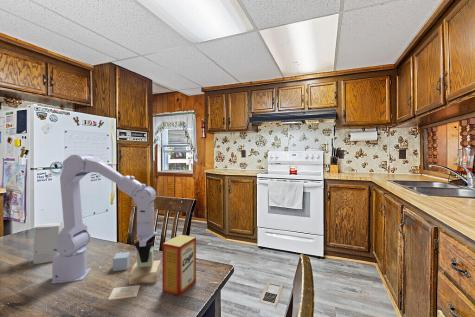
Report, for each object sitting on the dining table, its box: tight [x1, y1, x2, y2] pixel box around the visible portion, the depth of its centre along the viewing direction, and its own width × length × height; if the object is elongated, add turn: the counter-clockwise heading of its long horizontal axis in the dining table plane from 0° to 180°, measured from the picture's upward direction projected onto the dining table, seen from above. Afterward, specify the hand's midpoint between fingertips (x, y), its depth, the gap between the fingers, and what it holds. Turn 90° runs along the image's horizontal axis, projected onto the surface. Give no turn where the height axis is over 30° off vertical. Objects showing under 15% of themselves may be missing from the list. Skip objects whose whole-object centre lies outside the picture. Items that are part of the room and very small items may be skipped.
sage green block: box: [136, 245, 155, 267], centre depth 84 cm, size 5×5×5 cm
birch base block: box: [128, 259, 162, 285], centre depth 84 cm, size 9×9×4 cm
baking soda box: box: [161, 234, 197, 297], centre depth 78 cm, size 10×6×16 cm
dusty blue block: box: [112, 251, 131, 272], centre depth 90 cm, size 5×5×5 cm
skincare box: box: [32, 222, 64, 265], centre depth 96 cm, size 8×6×15 cm
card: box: [108, 284, 141, 301], centre depth 74 cm, size 8×6×1 cm
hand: (145, 258), depth 84 cm, fingers closed on sage green block, 5 cm apart
